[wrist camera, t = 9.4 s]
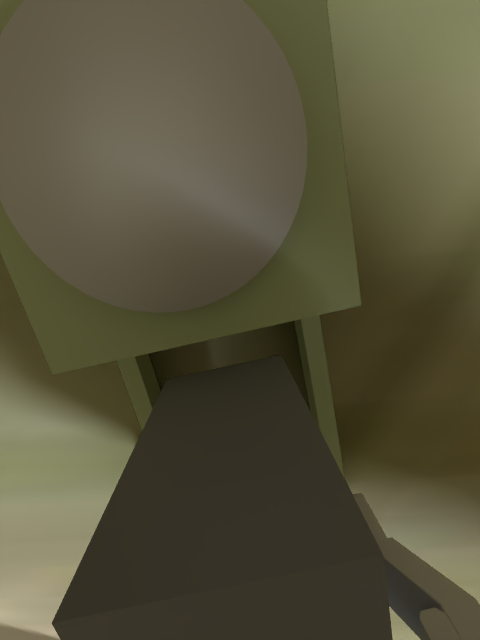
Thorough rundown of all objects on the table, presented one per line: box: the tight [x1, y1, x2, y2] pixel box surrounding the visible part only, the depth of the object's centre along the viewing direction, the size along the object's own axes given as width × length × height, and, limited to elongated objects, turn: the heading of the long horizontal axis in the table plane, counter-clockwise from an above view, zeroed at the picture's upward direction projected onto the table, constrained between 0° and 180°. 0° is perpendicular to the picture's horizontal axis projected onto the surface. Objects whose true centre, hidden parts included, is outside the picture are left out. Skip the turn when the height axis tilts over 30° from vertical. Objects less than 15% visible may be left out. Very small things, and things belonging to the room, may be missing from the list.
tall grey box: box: [52, 355, 393, 640], centre depth 9 cm, size 5×10×8 cm, turn 12°
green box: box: [0, 0, 362, 479], centre depth 13 cm, size 12×27×7 cm, turn 13°
